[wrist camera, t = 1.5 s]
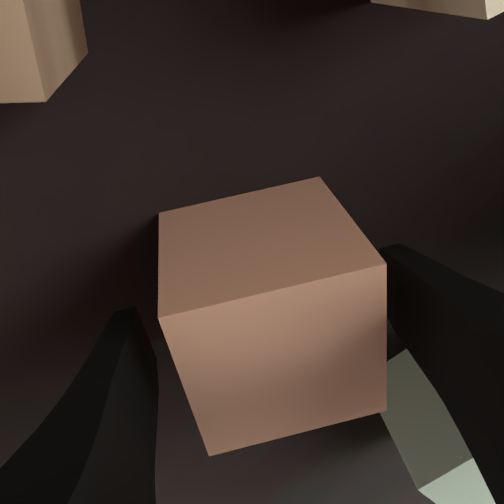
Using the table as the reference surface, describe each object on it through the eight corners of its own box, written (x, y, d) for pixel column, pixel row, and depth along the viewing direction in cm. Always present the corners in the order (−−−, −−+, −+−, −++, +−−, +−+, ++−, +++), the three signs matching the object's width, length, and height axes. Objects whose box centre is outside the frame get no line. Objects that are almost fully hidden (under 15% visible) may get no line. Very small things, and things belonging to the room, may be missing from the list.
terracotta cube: (318, 175, 14) (386, 263, 10) (330, 300, 17) (386, 410, 12) (159, 211, 14) (157, 318, 9) (196, 332, 16) (208, 456, 12)
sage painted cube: (464, 308, 18) (555, 409, 14) (507, 367, 21) (595, 468, 16) (361, 376, 19) (417, 489, 15) (414, 425, 22) (475, 533, 17)
